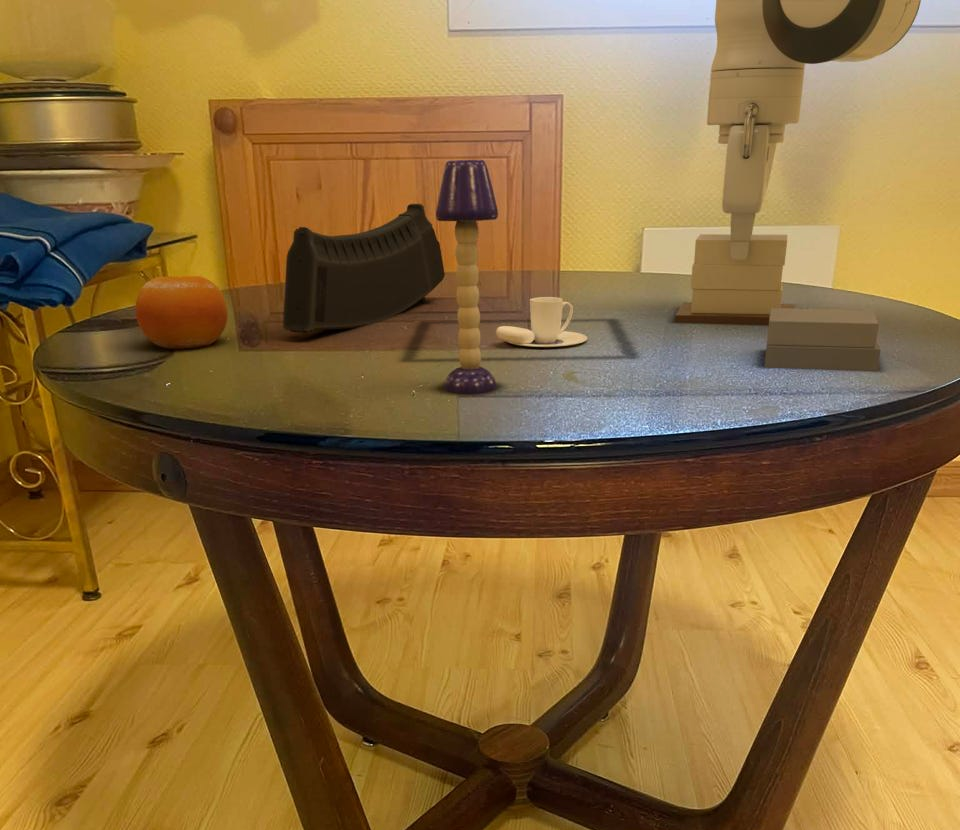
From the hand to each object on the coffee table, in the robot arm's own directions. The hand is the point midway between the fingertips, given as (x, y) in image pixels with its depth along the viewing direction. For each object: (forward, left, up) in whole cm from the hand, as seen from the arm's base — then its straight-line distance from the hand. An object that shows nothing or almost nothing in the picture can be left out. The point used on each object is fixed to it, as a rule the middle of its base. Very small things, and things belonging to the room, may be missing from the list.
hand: (740, 255), depth 105 cm
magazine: (+39, +6, -7) cm, 40 cm away
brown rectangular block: (-8, +22, -6) cm, 24 cm away
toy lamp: (+19, +37, -7) cm, 42 cm away
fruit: (+52, +24, -7) cm, 58 cm away
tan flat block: (0, 0, -1) cm, 1 cm away
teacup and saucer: (+20, +16, -7) cm, 26 cm away
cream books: (0, 0, -6) cm, 6 cm away
